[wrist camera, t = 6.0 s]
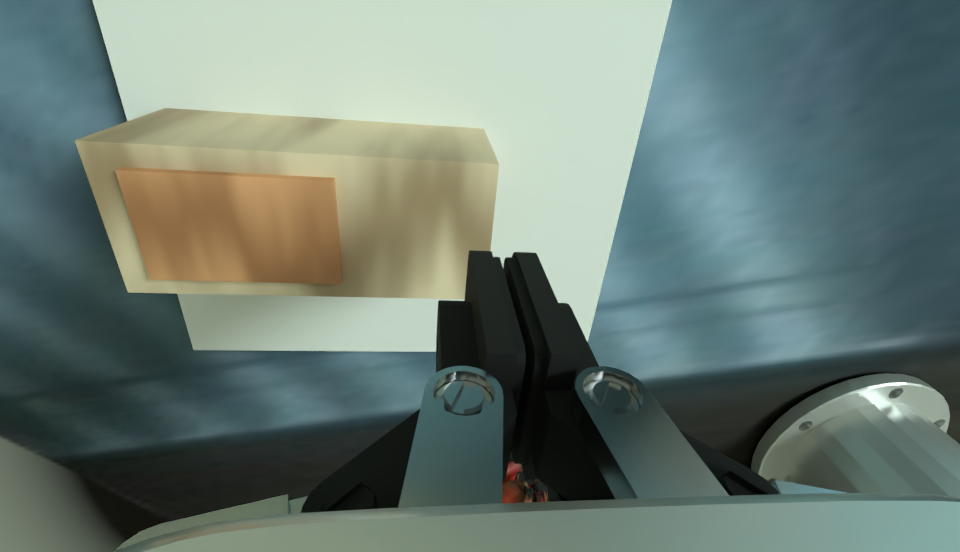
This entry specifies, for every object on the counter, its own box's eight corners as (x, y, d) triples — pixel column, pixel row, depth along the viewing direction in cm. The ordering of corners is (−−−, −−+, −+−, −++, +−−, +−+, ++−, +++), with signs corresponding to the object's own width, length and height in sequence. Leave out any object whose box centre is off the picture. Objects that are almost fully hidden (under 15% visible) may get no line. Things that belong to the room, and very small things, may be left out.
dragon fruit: (414, 516, 34) (505, 399, 32) (502, 604, 32) (607, 487, 29) (345, 594, 26) (457, 447, 24) (454, 719, 24) (592, 572, 21)
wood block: (486, 304, 16) (122, 297, 15) (474, 240, 21) (195, 230, 20) (500, 166, 14) (67, 143, 13) (483, 128, 18) (165, 107, 17)
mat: (581, 345, 25) (585, 352, 25) (198, 342, 23) (193, 350, 23) (676, -48, 17) (684, -50, 16) (70, -118, 14) (56, -123, 14)
